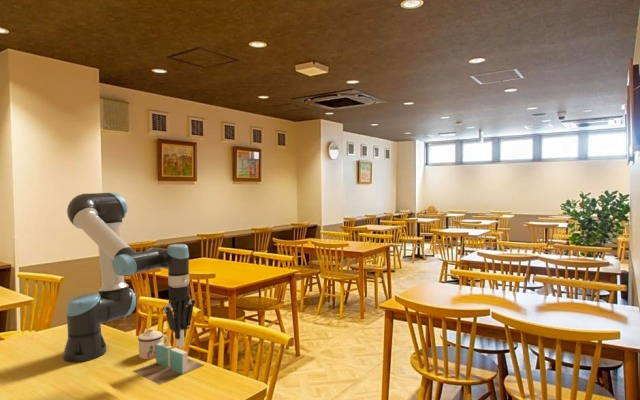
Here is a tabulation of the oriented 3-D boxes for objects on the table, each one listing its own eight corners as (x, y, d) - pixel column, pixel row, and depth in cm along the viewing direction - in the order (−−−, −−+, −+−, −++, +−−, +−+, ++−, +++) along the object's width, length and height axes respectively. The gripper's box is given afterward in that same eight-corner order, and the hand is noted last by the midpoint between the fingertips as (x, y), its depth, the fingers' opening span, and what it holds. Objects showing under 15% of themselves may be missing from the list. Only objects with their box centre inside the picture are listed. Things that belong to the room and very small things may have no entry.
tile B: (170, 369, 152) (169, 349, 151) (176, 366, 154) (175, 347, 153) (181, 374, 147) (181, 354, 147) (187, 371, 149) (187, 352, 149)
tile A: (156, 362, 157) (155, 344, 157) (162, 360, 159) (161, 342, 159) (166, 367, 153) (166, 348, 153) (173, 365, 155) (172, 346, 155)
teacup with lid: (148, 365, 159) (147, 334, 158) (133, 359, 164) (132, 330, 163) (174, 353, 169) (173, 325, 168) (160, 349, 174) (159, 321, 173)
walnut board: (133, 375, 150) (132, 371, 150) (177, 358, 165) (177, 354, 165) (159, 388, 140) (159, 384, 140) (204, 369, 154) (204, 365, 154)
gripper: (169, 290, 153) (171, 354, 154) (199, 283, 163) (200, 343, 164) (157, 287, 157) (159, 349, 158) (187, 280, 168) (189, 339, 169)
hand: (180, 346), depth 161 cm, fingers closed
